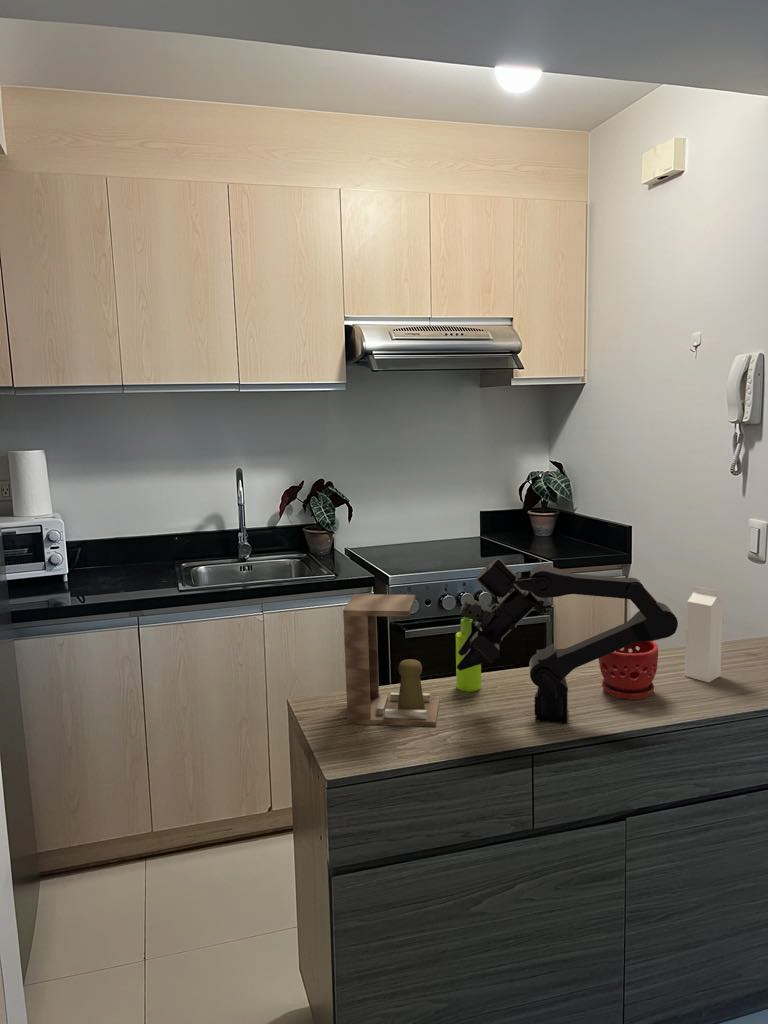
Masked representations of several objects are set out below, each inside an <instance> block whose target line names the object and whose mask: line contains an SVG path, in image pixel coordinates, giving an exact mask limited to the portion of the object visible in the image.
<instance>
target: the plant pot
mask: <svg viewBox="0 0 768 1024" xmlns="http://www.w3.org/2000/svg"><path fill="white" fill-rule="evenodd" d="M637 647H638V648H639V650H638V649H637ZM630 650H631V652H630ZM658 661H659V646H658V644H657V642H655V641H642V642H636V643H633V644H631V645H629V646H626V647H624V648H623V649H619V650H617V651H615V652H612V653H610V654H607V655H605V656H603V657H600V658H598V663H599V669H600V673H601V675H602V677H603V679H602V681H601V687H602V689H603V690H604V691H605V692H606V693H608V694H609V695H611V696H612V697H616V698H619V699H622V700H623V699H624V700H640V699H644V698H647V697H649V696H651V695H652V694H653V692H654V690H655V685H654V683H653V681H654V680H655V677H656V674H657V671H658Z"/></svg>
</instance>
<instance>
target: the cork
mask: <svg viewBox="0 0 768 1024" xmlns="http://www.w3.org/2000/svg"><path fill="white" fill-rule="evenodd" d="M422 672H423V665H422V663H421V661H419V660H417V659H413V658H411V659H410V658H408V659H403V660H402V661H400V663H399V664H398V673H399V675H400V683H399V684H400V685H399V692H398V693H399V701H398V709H408V710H425V705H424V699H423V688H422V687H423V686H422V682H421V674H422Z"/></svg>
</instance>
